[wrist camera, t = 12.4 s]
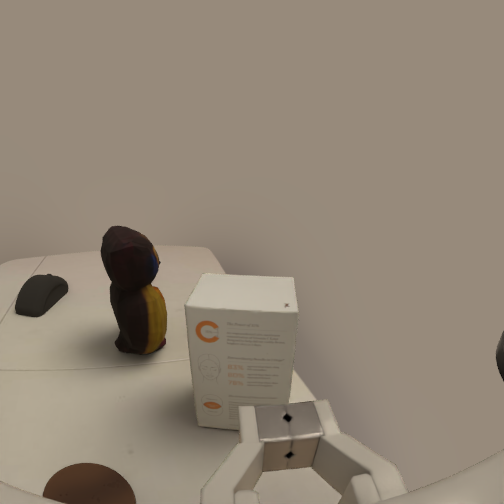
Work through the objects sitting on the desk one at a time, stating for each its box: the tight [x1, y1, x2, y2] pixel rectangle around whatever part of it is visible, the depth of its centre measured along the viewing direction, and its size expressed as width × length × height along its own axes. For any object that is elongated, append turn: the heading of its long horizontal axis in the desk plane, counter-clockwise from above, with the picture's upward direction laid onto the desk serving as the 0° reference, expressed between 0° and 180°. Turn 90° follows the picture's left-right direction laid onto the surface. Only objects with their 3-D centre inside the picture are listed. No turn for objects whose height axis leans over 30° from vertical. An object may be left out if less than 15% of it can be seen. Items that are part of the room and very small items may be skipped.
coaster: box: [43, 463, 136, 504], centre depth 16 cm, size 8×8×1 cm
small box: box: [184, 273, 299, 430], centre depth 27 cm, size 8×6×13 cm
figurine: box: [101, 226, 167, 354], centre depth 36 cm, size 10×7×15 cm
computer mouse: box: [15, 274, 68, 317], centre depth 46 cm, size 6×11×4 cm, turn 0°
